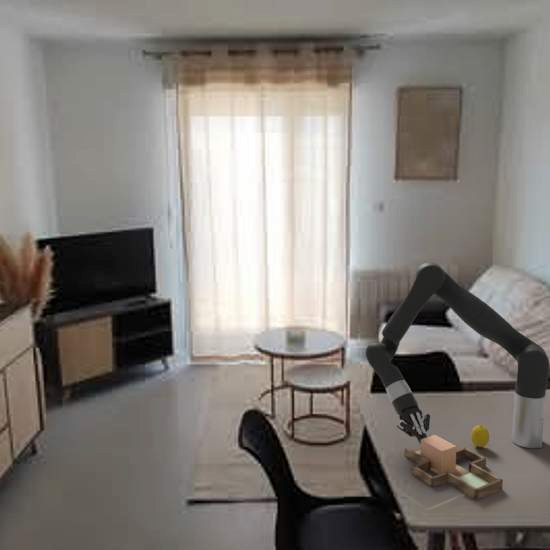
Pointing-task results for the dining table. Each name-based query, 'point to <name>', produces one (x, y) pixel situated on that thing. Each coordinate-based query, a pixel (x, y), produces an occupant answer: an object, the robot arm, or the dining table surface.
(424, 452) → the block
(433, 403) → the dining table surface
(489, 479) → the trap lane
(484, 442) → the lemon
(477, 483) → the pad
